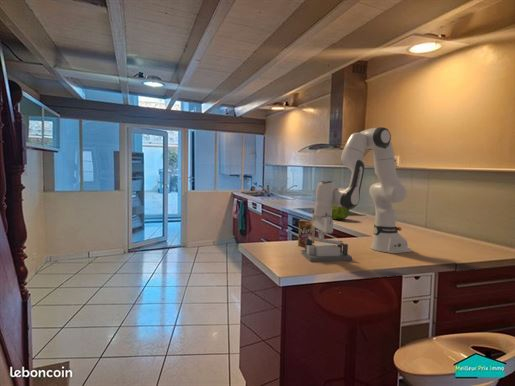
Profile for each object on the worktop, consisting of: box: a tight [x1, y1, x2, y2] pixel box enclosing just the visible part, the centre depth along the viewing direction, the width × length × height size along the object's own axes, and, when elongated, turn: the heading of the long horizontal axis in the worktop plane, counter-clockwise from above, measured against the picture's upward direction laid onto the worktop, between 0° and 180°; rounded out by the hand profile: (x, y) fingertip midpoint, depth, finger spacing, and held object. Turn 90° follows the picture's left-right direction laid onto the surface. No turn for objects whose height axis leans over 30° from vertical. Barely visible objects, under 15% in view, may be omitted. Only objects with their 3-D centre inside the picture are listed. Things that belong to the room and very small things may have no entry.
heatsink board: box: [301, 238, 353, 262], centre depth 166 cm, size 22×14×9 cm, turn 100°
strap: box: [308, 235, 345, 246], centre depth 165 cm, size 18×4×2 cm, turn 100°
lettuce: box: [331, 205, 350, 221], centre depth 293 cm, size 17×23×17 cm
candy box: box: [297, 219, 316, 248], centre depth 187 cm, size 9×4×15 cm, turn 56°
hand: (321, 238), depth 164 cm, fingers closed, pressing on strap
